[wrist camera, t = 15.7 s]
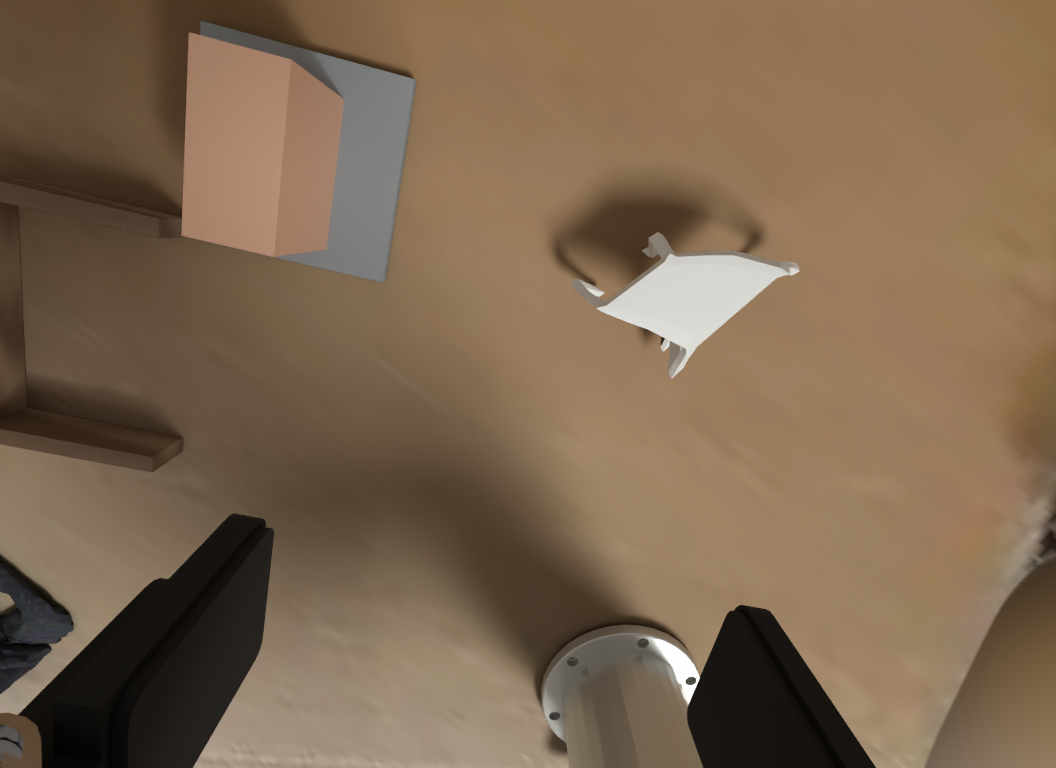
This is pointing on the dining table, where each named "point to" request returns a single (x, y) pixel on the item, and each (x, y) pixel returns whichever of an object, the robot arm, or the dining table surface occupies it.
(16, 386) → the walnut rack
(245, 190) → the terracotta block
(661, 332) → the white legged piece
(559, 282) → the dining table surface
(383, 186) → the grey mat
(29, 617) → the dark slate chunk
